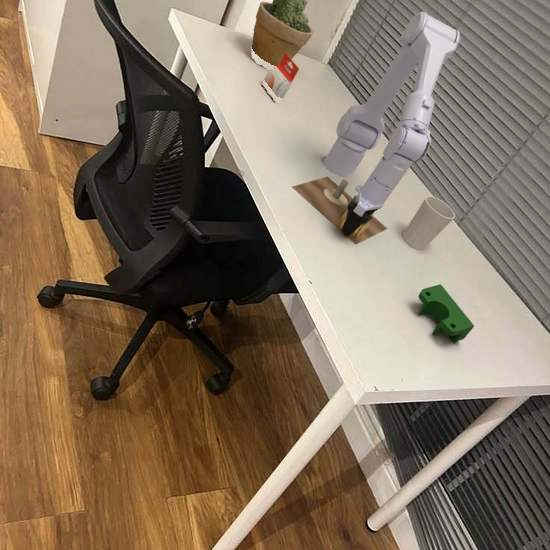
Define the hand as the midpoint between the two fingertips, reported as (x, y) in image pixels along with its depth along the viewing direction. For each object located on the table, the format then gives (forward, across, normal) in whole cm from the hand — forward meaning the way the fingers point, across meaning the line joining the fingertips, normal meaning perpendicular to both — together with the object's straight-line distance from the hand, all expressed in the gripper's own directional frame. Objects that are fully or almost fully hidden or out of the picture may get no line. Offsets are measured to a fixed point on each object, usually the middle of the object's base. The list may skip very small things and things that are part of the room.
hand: (350, 228), depth 122 cm
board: (+2, -6, -5) cm, 8 cm away
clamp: (+2, +9, +26) cm, 27 cm away
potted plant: (+2, -62, -57) cm, 85 cm away
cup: (+2, -14, +13) cm, 20 cm away
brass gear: (0, 0, 0) cm, 0 cm away
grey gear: (0, -8, -1) cm, 8 cm away
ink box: (+2, -42, -44) cm, 61 cm away
